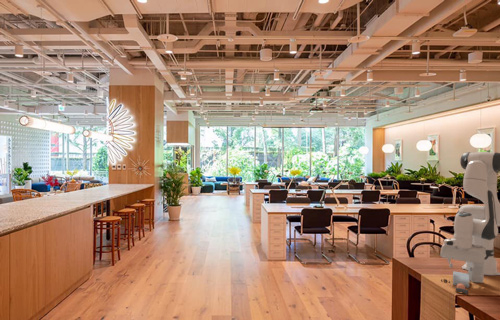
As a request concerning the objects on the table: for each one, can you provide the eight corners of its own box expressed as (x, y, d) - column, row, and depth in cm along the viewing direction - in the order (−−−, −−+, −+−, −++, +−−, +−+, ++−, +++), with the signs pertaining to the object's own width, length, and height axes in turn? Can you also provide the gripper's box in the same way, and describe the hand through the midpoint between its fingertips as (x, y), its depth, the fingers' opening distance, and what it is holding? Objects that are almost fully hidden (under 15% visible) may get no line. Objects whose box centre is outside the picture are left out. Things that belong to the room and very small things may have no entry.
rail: (455, 291, 169) (455, 287, 169) (467, 294, 167) (468, 289, 167) (455, 292, 168) (455, 288, 168) (467, 294, 166) (468, 290, 166)
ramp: (452, 278, 189) (453, 270, 189) (467, 281, 186) (468, 273, 186) (453, 285, 179) (453, 276, 179) (469, 288, 175) (469, 279, 175)
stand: (441, 279, 187) (441, 278, 187) (449, 281, 185) (449, 280, 185) (440, 281, 183) (441, 280, 183) (449, 283, 181) (449, 282, 181)
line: (453, 286, 176) (453, 286, 176) (469, 289, 173) (469, 289, 173) (453, 286, 176) (453, 286, 176) (469, 290, 172) (469, 289, 172)
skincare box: (478, 280, 189) (479, 258, 189) (483, 283, 185) (484, 260, 185) (467, 279, 190) (468, 257, 190) (471, 282, 185) (473, 259, 185)
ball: (457, 285, 169) (456, 281, 172) (456, 291, 170) (456, 287, 173) (465, 286, 168) (465, 282, 171) (465, 293, 168) (464, 289, 172)
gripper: (485, 245, 183) (483, 271, 183) (441, 239, 193) (439, 263, 193) (486, 247, 178) (485, 274, 178) (441, 241, 188) (439, 266, 188)
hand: (461, 268), depth 186 cm, fingers open, 8 cm apart
